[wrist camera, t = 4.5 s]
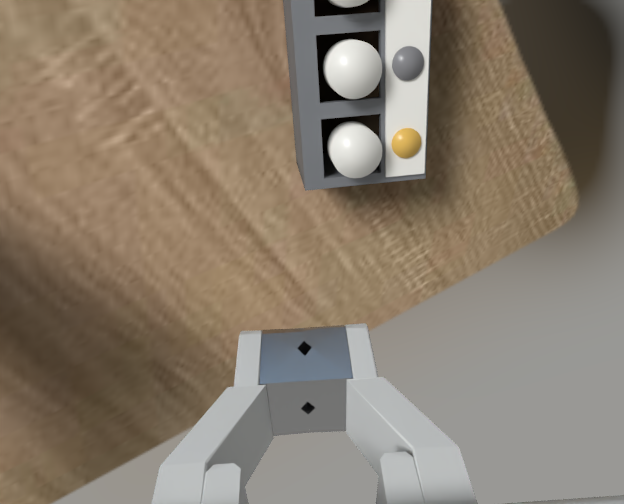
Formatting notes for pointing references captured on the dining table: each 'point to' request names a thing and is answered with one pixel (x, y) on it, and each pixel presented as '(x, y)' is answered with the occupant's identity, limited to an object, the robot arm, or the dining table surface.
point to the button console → (310, 110)
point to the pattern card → (406, 85)
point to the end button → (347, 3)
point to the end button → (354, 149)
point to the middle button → (352, 68)
